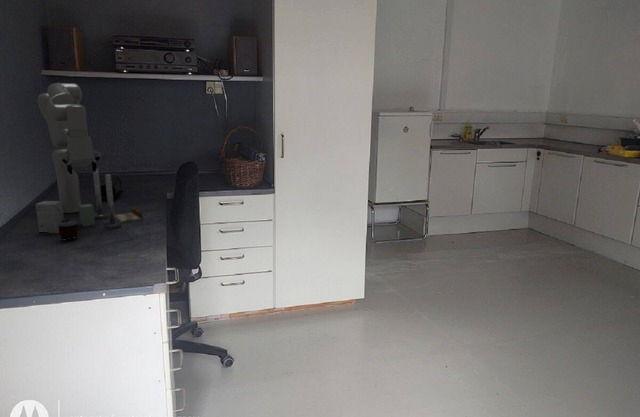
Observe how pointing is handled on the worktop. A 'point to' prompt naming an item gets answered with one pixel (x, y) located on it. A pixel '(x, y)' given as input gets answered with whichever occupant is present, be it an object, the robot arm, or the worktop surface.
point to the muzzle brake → (115, 186)
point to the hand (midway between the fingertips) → (82, 172)
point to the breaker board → (129, 216)
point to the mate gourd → (67, 227)
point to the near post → (110, 204)
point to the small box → (49, 216)
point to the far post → (98, 197)
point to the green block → (87, 215)
